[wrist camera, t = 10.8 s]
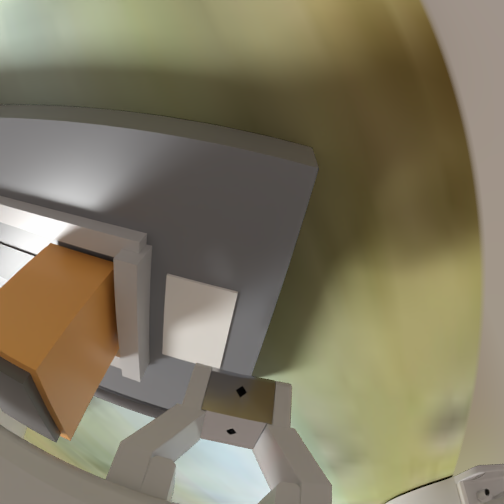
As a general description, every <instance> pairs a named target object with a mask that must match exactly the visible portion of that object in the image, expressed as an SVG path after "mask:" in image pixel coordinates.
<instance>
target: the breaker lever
mask: <svg viewBox="0 0 504 504" xmlns="http://www.w3.org/2000/svg"><path fill="white" fill-rule="evenodd" d="M118 350H119V342H118V332H117V320H116V306H115V290H114V264H113V262H112V261H108V260H105V259H101V258H98V257H95V256H91V255H88V254H85V253H81V252H78V251H75V250H72V249H68V248H65V247H62V246H59V245H56V244H53V243H50V244H49V245H48V246H46V247H45V248H44V249H43V250H42V251H41V252H39V253H38V254H37V255H36V256H35V257H34V258H33V259H31V260H30V261H29V262H28V263H27V264H26V265H25V266H24V267H22V268H21V269H20V270H19V271H18V272H17V273H16V274H15V275H14V276H13V277H12V278H11V279H10V280H8V281H7V282H6V283H5V284H4V285H3V286H2V287H1V288H0V409H1V410H2V411H3V412H4V413H6V414H7V415H9V416H10V417H12V418H13V419H15V420H17V421H18V422H20V423H22V424H23V425H25V426H27V427H29V428H30V429H32V430H34V431H36V432H37V433H39V434H41V435H43V436H45V437H47V438H48V439H50V440H52V441H54V442H57V440H58V438H59V436H62V437H64V438H66V439H68V440H70V441H71V439H72V437H73V435H74V433H75V431H76V429H77V427H78V425H79V423H80V421H81V419H82V417H83V415H84V413H85V411H86V409H87V407H88V405H89V403H90V401H91V399H92V398H93V396H94V394H95V392H96V390H97V388H98V386H99V384H100V382H101V381H102V379H103V377H104V375H105V373H106V371H107V370H108V368H109V366H110V364H111V362H112V360H113V359H114V357H115V355H116V353H117V351H118Z"/></svg>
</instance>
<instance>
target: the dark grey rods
mask: <svg viewBox="0 0 504 504" xmlns="http://www.w3.org/2000/svg"><path fill="white" fill-rule="evenodd" d="M94 396H96V397H98V398H101V399H103V400H106V401H108V402H111V403H113V404H116V405H119V406H121V407H124V408H127V409H130V410H133V411H136V412H138V413H141V414H144V415H147V416H151V417H154V418H157V417H159V416H160V415H162V414H163V413H164V412H166V411H167V410H169V409H166V408H163V407H160V406H157V405H153V404H150V403H147V402H144V401H141V400H138V399H135V398H132V397H130V396H127V395H124V394H121V393H118V392H116V391H113V390H110V389H108V388H105V387H103V386H100V385H99V386H98V388H97V390H96V392H95V394H94Z"/></svg>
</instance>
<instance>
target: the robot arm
mask: <svg viewBox="0 0 504 504" xmlns="http://www.w3.org/2000/svg"><path fill="white" fill-rule="evenodd" d="M291 402H292V386H291V384H289V383H283V382H278V381H274V380H269V379H264V378H259V377H254V376H249V375H242V374H238V373H234V372H230V371H226V370H223V369H219V368H215V367H213V368H212V366H208V365H204V364H200V363H196V365H195V366H194V369H193V372H192V375H191V379H190V382H189V385H188V388H187V391H186V394H185V397H184V400H183V404H178V403H177V404H176V405H175V406H173V407H172V408H170V409H169V410H167V411H166V412H164V413H163V414H162V415H160V416H159V417H157V418H156V419H154V420H153V421H151V422H150V423H148V424H147V425H145V426H144V427H142V428H141V429H139V430H138V431H136V432H135V433H133V434H132V435H130V436H129V437H127V438H126V439H124V440H123V441H121V442H120V445H119V447H118V450H117V452H116V455H115V457H114V460H113V462H112V465H111V467H110V470H109V472H108V475H107V477H106V480H105V479H103V478H100V477H98V476H95V475H93V474H91V473H89V472H86V471H84V470H82V469H80V468H77V467H75V466H73V465H71V464H69V463H67V462H65V461H63V460H61V459H59V458H57V457H55V456H53V455H51V454H49V453H47V452H45V451H44V450H42V449H40V448H38V447H36V446H34V445H33V444H31V443H29V442H28V441H26V440H24V439H22V438H21V437H19V436H18V435H16V434H14V433H13V432H11V431H10V430H8V429H6V428H5V427H3V426H2V425H0V504H178V503H174V502H171V499H172V495H173V491H174V485H175V470H176V465H175V463H174V462H175V461H176V460H177V459H178V458H180V457H181V456H182V455H183V454H184V453H185V452H187V451H188V450H189V449H190V448H191V447H192V446H193V445H194V444H196V443H197V442H198V441H199V440H200V438H202V439H206V440H211V441H216V442H221V443H226V444H230V445H235V446H239V447H244V448H248V449H253V450H252V451H253V453H254V455H255V458H256V460H257V462H258V464H259V466H260V468H261V471H262V473H263V475H264V477H265V479H266V481H267V483H268V485H269V487H270V489H271V491H270V492H269V493H268V494H267V495H266V496H265V497H264V498H263V499H262V500H261V501H260V502H259V503H258V504H332V485H331V483H330V482H329V480H328V479H327V477H326V476H325V474H324V473H323V471H322V470H321V468H320V467H319V465H318V464H317V462H316V461H315V459H314V458H313V456H312V455H311V453H310V452H309V450H308V448H307V447H306V445H305V444H304V442H303V441H302V439H301V438H300V436H299V434H298V433H297V431H296V430H295V429H294V428H290V424H291ZM385 504H504V464H495V465H479V466H476V467H473V468H471V469H469V470H467V471H464V472H462V473H460V474H458V475H456V476H454V477H451V478H449V479H446V480H443V481H440V482H437V483H434V484H431V485H428V486H425V487H422V488H419V489H417V490H414V491H411V492H409V493H406V494H404V495H401V496H399V497H397V498H395V499H393V500H391V501H389V502H387V503H385Z"/></svg>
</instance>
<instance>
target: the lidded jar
mask: <svg viewBox="0 0 504 504" xmlns="http://www.w3.org/2000/svg"><path fill="white" fill-rule="evenodd" d="M0 425H2V426H3V427H5V428H6V429H8V430H10V431H11V432H13V433H14V434H16V435H18V436H19V437H21V438H22V439H23V438H24V436H25V433H26V429H27V426H25V425H23V424H22V423H20V422H18V421H17V420H15V419H13V418H12V417H10V416H9V415H7V414H6V413H4V412H3V411H2V410H1V409H0Z"/></svg>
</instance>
